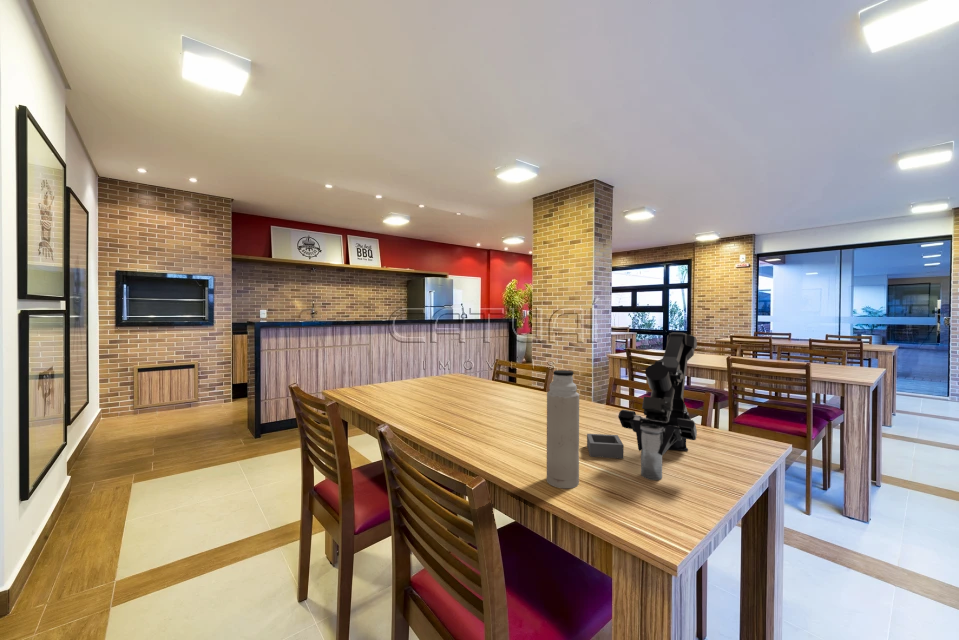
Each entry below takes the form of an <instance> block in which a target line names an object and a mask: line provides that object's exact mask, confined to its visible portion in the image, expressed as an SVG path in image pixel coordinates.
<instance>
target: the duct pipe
mask: <svg viewBox="0 0 959 640" xmlns="http://www.w3.org/2000/svg"><path fill="white" fill-rule="evenodd" d="M640 430H641V451H640V475H641V477H642V478H643V479H647V480H649V481H659V480H662V479H663V456H662V455H661V454H660V452H661V447H662V433H663V432H664V427H662V426H660V425H657V424H649V423H645V424H641V425H640Z"/></svg>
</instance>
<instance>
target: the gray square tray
mask: <svg viewBox="0 0 959 640" xmlns="http://www.w3.org/2000/svg"><path fill="white" fill-rule="evenodd" d="M624 446H625V445H624V444H623V442H622V439H621V437H619V435H618V434H601V433H586V447H587V451H588V453H589V454H588V455H589V456H590V457H591V458H592V457H593V458H609V459H622V460H623V459H624V458H625V457H624V453H625V452H624Z"/></svg>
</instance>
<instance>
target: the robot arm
mask: <svg viewBox="0 0 959 640" xmlns="http://www.w3.org/2000/svg"><path fill="white" fill-rule="evenodd" d="M697 347H698V340H697V338H696V336H694V335H693V334H687V333H684V332H671V333H668V335H667V336H666V347H665V351H664V353H663V356H662V358H661V359H659V360H655V362H654V363H653V364H650V365H649V366H648V367H646V368H645V370H644V375H645V376H646V380H647V383H648V387H649V389H650V390H651V394H650V396H643V398H642V407H641V409H643V414H644V416H645V417H642V416H641V415H639V414H637V413H636V411H634V410H628V409H621V410H619V412H618V416H617V418H618V420H619V422H620V425H621V427H622V428H624V429H629V430H632V431H633V432H634V433H635V435H636V441H637V442H636V443H637V450H638V451H639V452H641V430H640V425H641V424H645V423H649V424H657V425H660V426H662V427H664V432H663V433H662V447H661V452H660V454H661V455H662V457H663V456H664V455H665V454H666V452H667V451H668V450H669V451H671V450H672V451H689V448H688V447H687V440H690V441H696V440H697V435H698V434H697V431H698V429H697V427H696V426H697V425H696V422H695V421H694V420H693V419H691V416H690V413H689V411H688V409H687V405H686V403H685V401H684V394H685V393H684V392H685V385H686V376H687V369H688V368H687V367H688V362H689V360H690V359H691V358H692V357H694V354H695V350H696V349H697Z"/></svg>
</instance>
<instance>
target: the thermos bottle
mask: <svg viewBox="0 0 959 640" xmlns="http://www.w3.org/2000/svg"><path fill="white" fill-rule="evenodd" d="M573 376H574V371H572V370H566V369H565V370H564V369H559V370H557V369H556V370H553V378H552V381H551V382H550V383H549V387H548V388H549V390H548V391H547V393H546V482H547V483H548V485H550V486H552V487H555V488H558V489H559V488H560V489H573V488H576V487H578V485H579V484H580V453H579V450H580V393H579V392H577V390H578V386H577V384H576V383H574V377H573Z"/></svg>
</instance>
